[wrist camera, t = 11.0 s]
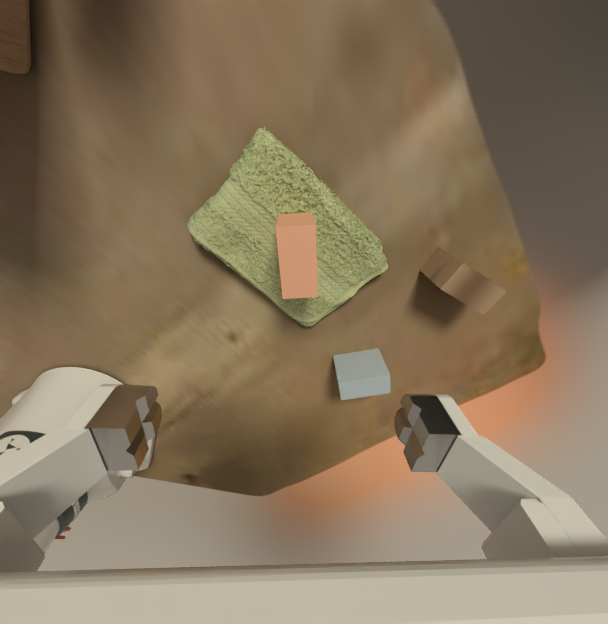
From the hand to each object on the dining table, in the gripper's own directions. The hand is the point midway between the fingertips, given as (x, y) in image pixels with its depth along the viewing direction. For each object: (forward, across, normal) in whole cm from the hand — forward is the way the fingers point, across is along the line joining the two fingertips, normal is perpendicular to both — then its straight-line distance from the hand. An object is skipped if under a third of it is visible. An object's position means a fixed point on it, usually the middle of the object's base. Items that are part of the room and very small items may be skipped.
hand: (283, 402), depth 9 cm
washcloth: (+23, -1, 0) cm, 23 cm away
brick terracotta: (+19, -1, 0) cm, 19 cm away
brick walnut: (+22, -18, +2) cm, 28 cm away
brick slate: (+22, -10, +16) cm, 29 cm away
